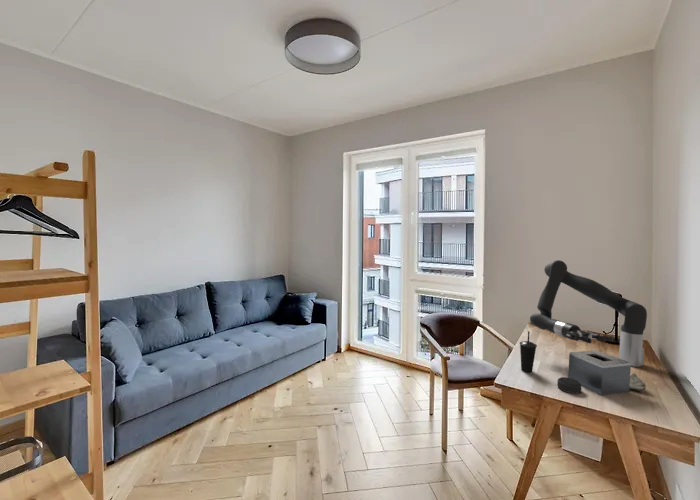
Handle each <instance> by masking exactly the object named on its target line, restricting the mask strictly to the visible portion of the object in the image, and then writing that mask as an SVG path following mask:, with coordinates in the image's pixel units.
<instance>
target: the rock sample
mask: <svg viewBox="0 0 700 500" xmlns="http://www.w3.org/2000/svg"><path fill="white" fill-rule="evenodd" d="M646 388H647V387H646V384H645V383H644V381H643V380H642V379H641V378H640V377H639V375H637V373H634V372H633V373H632V374H630V385H629V391H630V390H633V391H637V392H645V390H646Z"/></svg>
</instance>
